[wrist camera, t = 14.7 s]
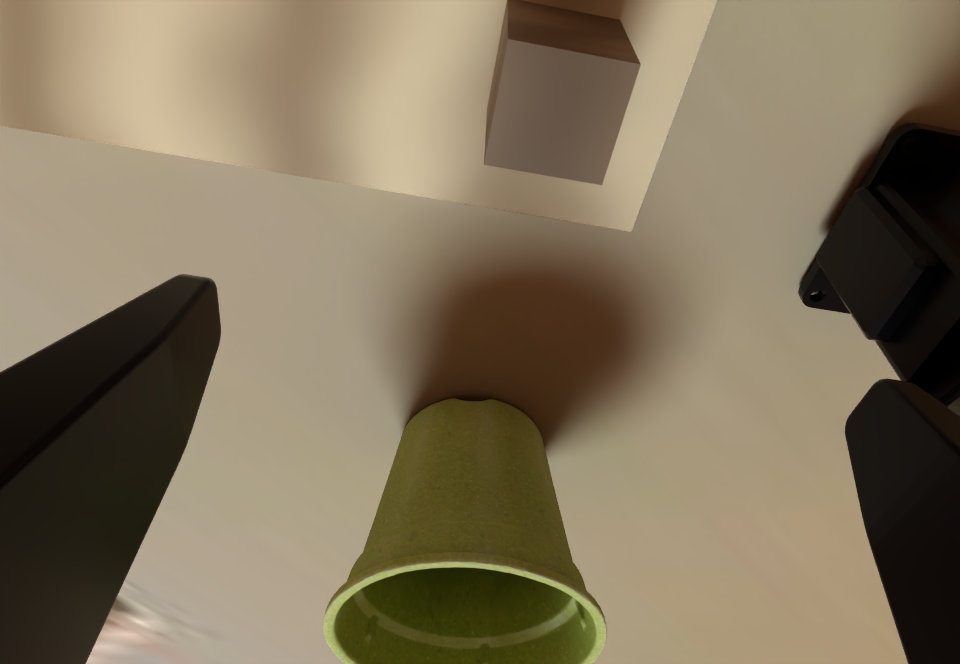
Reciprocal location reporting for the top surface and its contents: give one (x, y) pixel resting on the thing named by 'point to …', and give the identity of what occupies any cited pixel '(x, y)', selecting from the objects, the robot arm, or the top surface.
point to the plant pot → (466, 553)
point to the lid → (372, 90)
